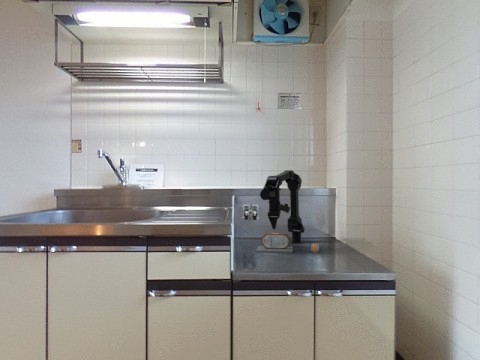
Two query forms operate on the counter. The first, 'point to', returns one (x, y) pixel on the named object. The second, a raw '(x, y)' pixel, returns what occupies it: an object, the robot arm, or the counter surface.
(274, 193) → the robot arm
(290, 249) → the mat
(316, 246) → the small orange block
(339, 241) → the counter surface
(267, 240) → the tin
